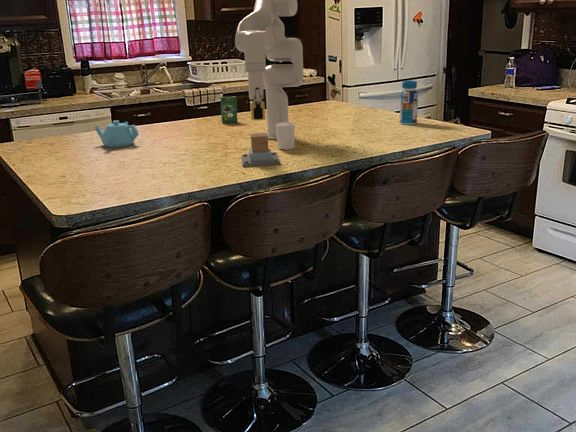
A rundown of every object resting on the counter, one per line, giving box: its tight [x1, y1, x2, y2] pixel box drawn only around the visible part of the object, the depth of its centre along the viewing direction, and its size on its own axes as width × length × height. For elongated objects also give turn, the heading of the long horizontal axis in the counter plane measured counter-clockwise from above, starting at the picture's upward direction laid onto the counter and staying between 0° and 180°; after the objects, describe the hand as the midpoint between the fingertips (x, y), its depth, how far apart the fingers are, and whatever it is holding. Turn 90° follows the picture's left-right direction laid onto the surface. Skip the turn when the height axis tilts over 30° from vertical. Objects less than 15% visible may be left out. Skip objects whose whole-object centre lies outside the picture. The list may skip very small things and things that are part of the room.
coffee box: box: [220, 95, 238, 124], centre depth 309 cm, size 8×3×13 cm, turn 103°
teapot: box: [94, 120, 139, 149], centre depth 267 cm, size 15×15×11 cm
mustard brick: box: [249, 101, 266, 122], centre depth 225 cm, size 5×5×6 cm
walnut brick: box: [250, 132, 269, 153], centre depth 229 cm, size 6×6×6 cm
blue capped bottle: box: [399, 79, 419, 126], centre depth 288 cm, size 8×8×20 cm
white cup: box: [276, 122, 296, 151], centre depth 250 cm, size 8×8×10 cm
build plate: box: [240, 147, 281, 168], centre depth 231 cm, size 14×14×4 cm
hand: (258, 117), depth 226 cm, fingers closed on mustard brick, 5 cm apart
